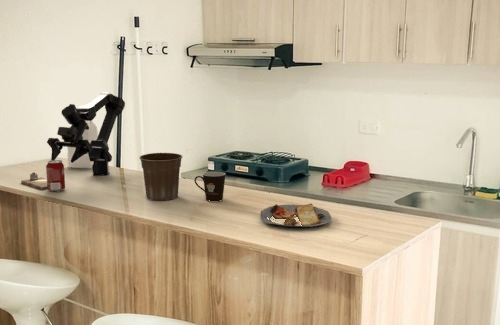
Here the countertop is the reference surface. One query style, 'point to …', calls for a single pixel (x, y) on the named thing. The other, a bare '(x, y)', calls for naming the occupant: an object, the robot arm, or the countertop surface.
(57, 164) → the soda can
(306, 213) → the food plate
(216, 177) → the coffee mug
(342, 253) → the countertop surface
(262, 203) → the countertop surface
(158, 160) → the plant pot
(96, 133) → the milk
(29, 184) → the carrier board
